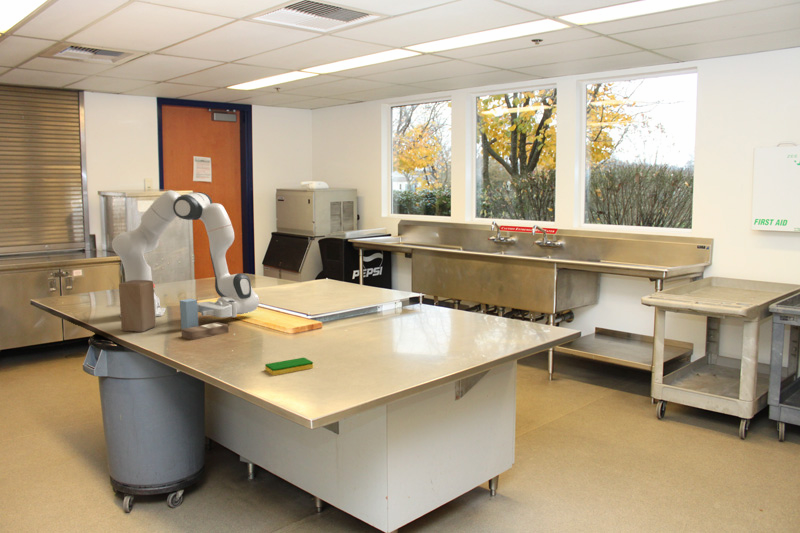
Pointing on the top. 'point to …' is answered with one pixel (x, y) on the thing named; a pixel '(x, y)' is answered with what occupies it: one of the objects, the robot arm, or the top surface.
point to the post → (188, 313)
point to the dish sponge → (288, 366)
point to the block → (137, 305)
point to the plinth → (204, 331)
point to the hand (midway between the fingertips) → (196, 312)
